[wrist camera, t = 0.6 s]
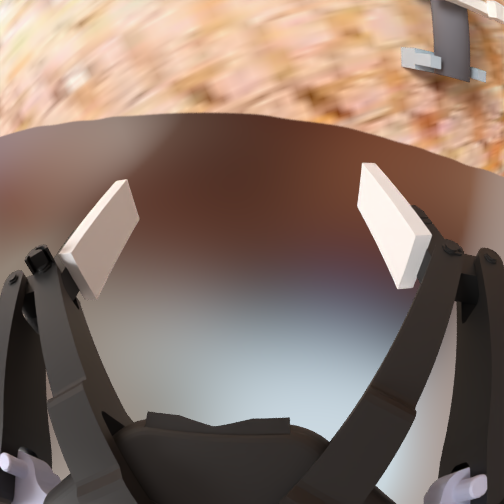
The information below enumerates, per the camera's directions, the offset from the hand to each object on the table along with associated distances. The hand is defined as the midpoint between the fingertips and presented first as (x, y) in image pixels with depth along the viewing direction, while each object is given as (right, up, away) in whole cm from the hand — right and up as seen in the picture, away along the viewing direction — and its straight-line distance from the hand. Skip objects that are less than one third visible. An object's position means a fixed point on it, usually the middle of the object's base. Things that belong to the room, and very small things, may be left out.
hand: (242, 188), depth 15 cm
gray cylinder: (+25, +26, +5) cm, 36 cm away
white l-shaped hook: (+24, +25, -1) cm, 35 cm away
